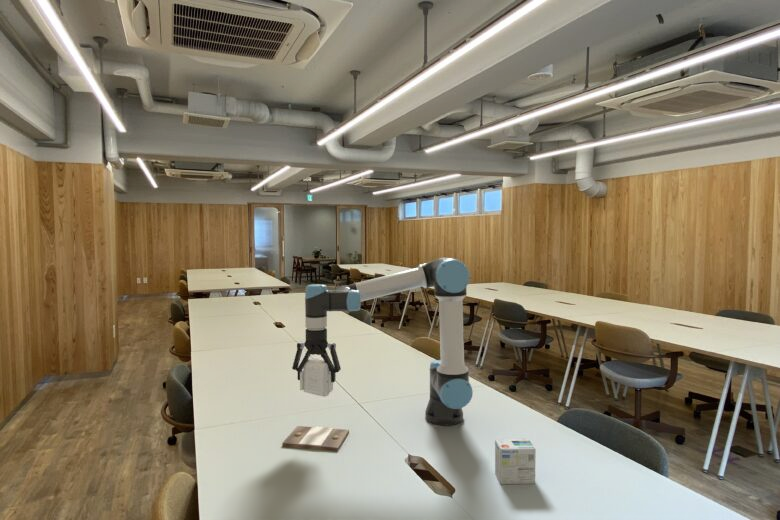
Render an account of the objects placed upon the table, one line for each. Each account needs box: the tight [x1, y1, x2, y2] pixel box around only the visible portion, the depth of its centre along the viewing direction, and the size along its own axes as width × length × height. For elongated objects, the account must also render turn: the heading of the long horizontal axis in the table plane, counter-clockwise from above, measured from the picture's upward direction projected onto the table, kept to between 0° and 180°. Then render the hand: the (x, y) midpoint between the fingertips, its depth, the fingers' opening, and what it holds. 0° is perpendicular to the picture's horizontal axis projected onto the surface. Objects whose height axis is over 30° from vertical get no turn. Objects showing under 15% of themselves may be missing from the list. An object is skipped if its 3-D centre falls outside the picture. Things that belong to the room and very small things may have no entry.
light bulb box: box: [494, 438, 537, 485], centre depth 131 cm, size 11×7×11 cm, turn 92°
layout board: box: [281, 425, 350, 452], centre depth 156 cm, size 20×14×2 cm
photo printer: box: [302, 358, 331, 398], centre depth 156 cm, size 10×4×12 cm, turn 60°
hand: (316, 390), depth 156 cm, fingers closed on photo printer, 10 cm apart
